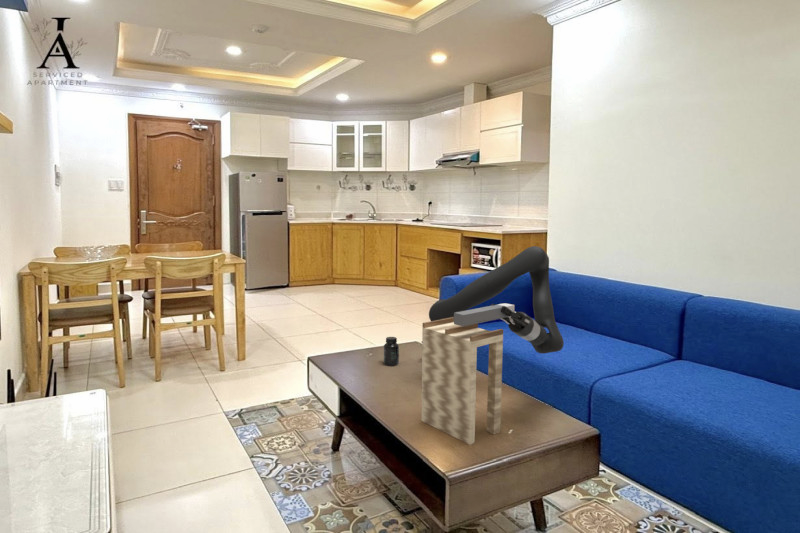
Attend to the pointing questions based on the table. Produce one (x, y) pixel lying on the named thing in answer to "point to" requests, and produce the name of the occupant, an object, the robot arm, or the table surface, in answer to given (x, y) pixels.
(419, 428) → the table surface
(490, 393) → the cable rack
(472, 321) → the grey rectangular bar
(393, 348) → the supplement bottle
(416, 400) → the table surface
